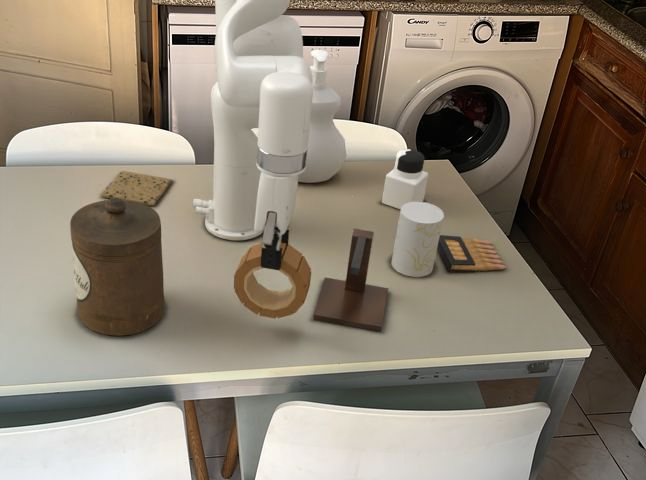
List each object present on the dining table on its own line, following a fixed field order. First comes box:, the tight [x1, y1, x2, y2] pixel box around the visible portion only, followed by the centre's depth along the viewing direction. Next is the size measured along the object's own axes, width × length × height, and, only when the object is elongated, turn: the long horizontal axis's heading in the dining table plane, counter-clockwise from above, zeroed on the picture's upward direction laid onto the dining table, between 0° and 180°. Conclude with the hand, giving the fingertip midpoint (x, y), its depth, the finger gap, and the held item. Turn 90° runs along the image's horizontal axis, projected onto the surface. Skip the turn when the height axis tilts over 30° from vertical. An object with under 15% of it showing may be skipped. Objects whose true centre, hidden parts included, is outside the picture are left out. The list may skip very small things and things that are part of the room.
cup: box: [390, 201, 445, 278], centre depth 157 cm, size 8×8×12 cm
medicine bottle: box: [381, 148, 429, 210], centre depth 177 cm, size 7×7×12 cm
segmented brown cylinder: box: [233, 241, 312, 320], centre depth 134 cm, size 12×5×12 cm, turn 78°
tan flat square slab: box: [101, 170, 173, 207], centre depth 178 cm, size 12×12×1 cm
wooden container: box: [69, 197, 165, 337], centre depth 136 cm, size 15×15×22 cm
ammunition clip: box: [437, 234, 508, 273], centre depth 163 cm, size 11×2×12 cm
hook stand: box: [313, 228, 389, 333], centre depth 144 cm, size 12×13×13 cm
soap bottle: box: [298, 49, 347, 184], centre depth 180 cm, size 17×12×29 cm
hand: (274, 257), depth 132 cm, fingers closed on segmented brown cylinder, 4 cm apart
